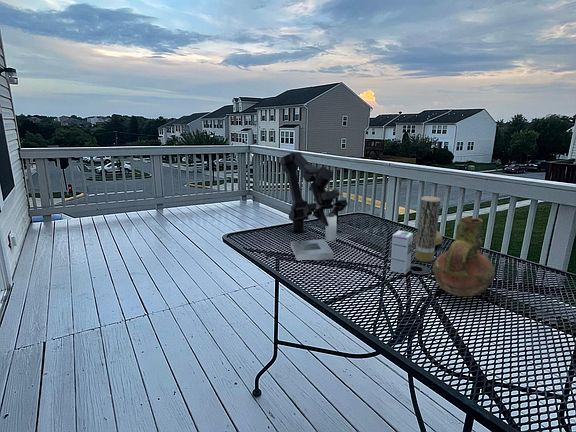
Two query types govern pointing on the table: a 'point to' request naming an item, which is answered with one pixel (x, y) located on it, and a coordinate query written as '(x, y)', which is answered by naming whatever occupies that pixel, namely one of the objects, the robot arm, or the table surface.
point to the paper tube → (427, 228)
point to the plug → (331, 227)
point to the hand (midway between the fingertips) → (332, 225)
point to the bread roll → (438, 238)
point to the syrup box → (401, 251)
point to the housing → (311, 250)
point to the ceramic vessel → (464, 262)
